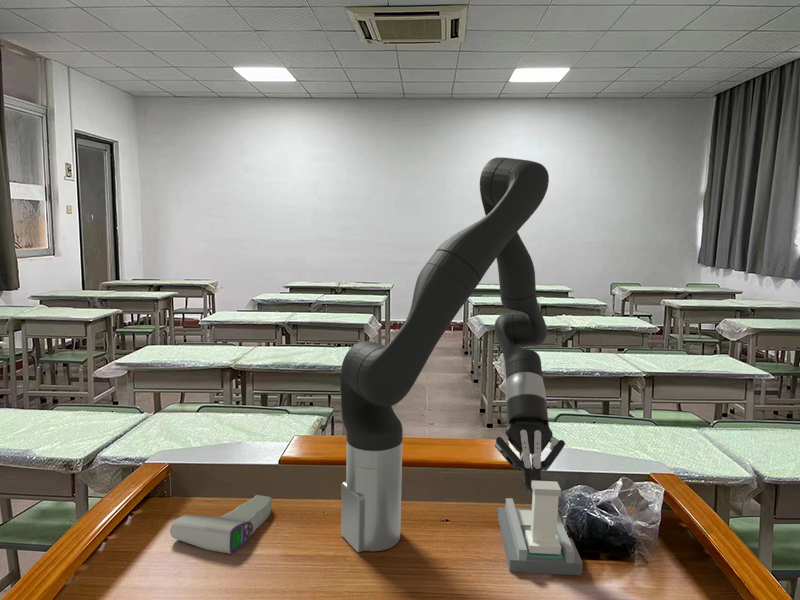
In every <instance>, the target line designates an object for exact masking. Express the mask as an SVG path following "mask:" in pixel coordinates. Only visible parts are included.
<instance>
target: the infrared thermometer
mask: <svg viewBox="0 0 800 600" xmlns="http://www.w3.org/2000/svg"><path fill="white" fill-rule="evenodd" d="M271 513H272V497H271V496H268V495H267V496H266V495H259V494H256V495H255V496H254V497H252V498H251V499H249V500H248V501H246V502H244V503H242V504H240V505H238V506H237V507H236V508H234V509H233V510H231V511H229V512H226V513H225V514H223V515H221V516H208V515H193V514H184V515H181V516H180V517H178V518H177V519H175V521H174V522H173V523H172V524H171V526H170V531H169V533H170V536H171V538H172V539H175V540H177V541H181V542H183V543H186V544H189V545H192V546H195V547H197V548H201V549H204V550H207V551H211V552H212V551H214V552H217V553H224V554H229V555H233V554H234V553H235V552H237V551H238V550H239V549H240V548H242V547H243V546H245V545H246V543H248V542H249V540H250V538H251V536H252V535H253V534H254V533H255V531H256V530H257V529H258V528H259V527H260V526H261V525H262V524H263V523H264V522H265V521H267V519H268V517H269V516H270V514H271Z"/></svg>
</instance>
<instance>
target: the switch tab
mask: <svg viewBox="0 0 800 600" xmlns="http://www.w3.org/2000/svg"><path fill="white" fill-rule="evenodd" d="M531 487H532V490H533V494H532V495H531V496H532V498H531V501H532V502H531V509H532V513H531V530H525V539H526V543H527V546H528V550H529V553H542V554H561V545H560V543H559V540H558V538H557V535H556V530H557V515H558V510H559V499H560V498H559V497H561V496H562V489H561V487H560V484H559V483H558V481H549V480H541V481H532V483H531Z"/></svg>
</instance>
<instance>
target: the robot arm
mask: <svg viewBox="0 0 800 600" xmlns="http://www.w3.org/2000/svg"><path fill="white" fill-rule="evenodd" d="M549 177H550V176H549V171H548V170H547V168H546V166H544V165H543V164H542V163H539V162H536V161H533V160H529V159H528V160H527V159H519V158H512V157H499V156H498V157H494V158H492V159H490V160H489V161H488V162H487V163H485V165H484V167H483V168H482V171H481V173H480V177H479V194H480V200H481V203H482V208H483V211H484V215H485V216H483V217H482V218H481V219H479V220H478V221H476V222H474V223H473V224H471V225H469V226H467V227H465V228H464V229H462V230H460V231H459V232H457V233H455V234H453V235H451V236H450V237H449V238H447V239H446V240H444V241H443V242H442V243H441V245H439V246H438V247H437V249H436V250H435V251H434V252H433V254H432V255H431V257H430V258H429V260H428V261H427V262H426V263H425V265H424V266H423V267H422V269H421V270H420V272H419V274H418V276H417V279H416V282H415V286H414V290H413V295H412V300H411V306H410V310H409V312H408V315H407V317H406V320H405V321H404V322H403V324H402V325H401V327H400V328H399V330H398V331H397V332H396V333H395V335H394V336H393V338H392V339H391V340H390V341H389V343H388V344H386V345H383V344H382V343H378V342H375V341H369V340H366V341H365V340H363V341H360V342H358V343H356V344H354V345H352V346H351V347H350V348H349V350H347V352H346V355H344V357H343V361H342V363H341V369H340V401H341V402H340V403H341V404H340V406H341V417H342V418H341V419H342V423H343V426H344V428H345V431H346V432H345V433H346V456H345V458H346V459H345V461H346V470H345V471H346V474H345V475H346V477H345V478H346V479H345V481H343V482H341V491H340V492H341V493H340V494H341V497H340V499H341V503H340V504H341V508H340V511H341V514H340V515H341V517H340V520H341V523H340V524H341V525H340V529H341V530H340V535H341V536H342V538H344V540H345V541H346V542H347V543H348V544H349V545H350V546H351V547H352V548H353V549H354V550H355V552H356V553H360V552H380V551H385V550H388V549H391V548H392V547H395V545H397V544H398V543H399V541H400V539H401V526H402V523H401V518H402V478H403V475H402V473H403V467H402V466H403V439H404V438H403V434H404V433H403V431H404V430H403V424H402V422H401V421H400V419H399V417H398V416H397V415H396V413H395V411H394V408H393V406H395V405H397V404H399V403H400V402H401V401H402V400H403V399H404V398H405V397H406V396H407V394H409V392H410V391H411V390H412V388H413V386H414V385H415V384H416V381H417V380H418V378H419V376H420V374H421V372H422V370H423V369H424V367H425V365H426V364H427V362H428V359H429V358H430V356H431V354H432V352H433V351H434V349H435V347H436V346H437V344H438V342H439V341H440V340H441V338H442V336H443V335H444V334H445V332H446V330H447V329H448V328H449V326H450V324H451V323H452V322H453V320H454V318H455V317H456V316H457V314H458V313H459V312H460V310H461V308H462V307H463V306H464V305H465V303H466V302H467V301H468V299H469V298H470V297H471V296H472V294H473V293H474V291H475V290H476V288H477V286H478V285H479V284H480V282H481V281H482V280H483V277H484V276H485V275H486V273H487V271H488V270H489V269H490V268H491V266H492V265H493V263H494V262H495V260H496V263H497V270H498V282H499V283H498V284H499V294H500V295H499V296H500V301H501V302H500V303H501V304H502V306H504V308H506V309H508V310H511V311H516V312H512V313H511V312H510V313H503V314H500V315H499V316H498V317H497V319H496V320H495V322H494V334H495V338H496V340H497V341H496V342H497V343H498V345H499V347H500V350H501V352H502V353H501V354H502V356H503V361H504V366H505V367H504V368H505V404H506V406H505V407H506V420H507V427H506V429H505V433H504V435H502V436H498V437H496V439H495V442H494V447H495V448H496V450H497V451H498V452H499V453H500V454H501V456H502V457H503V459H505V460H506V461H507V463H508V464H509V465H510V467H511V468H513V469H514V470H519V471H521V472H522V477H523V478H522V479H523V480H522V481H523V488H524V490H525V491H527V493H528V494H529V495H530V494H531V495H533V490H532V487H531V483H532V481H542V473H541V472H542V471H544V472H545V471H548V469H549V468H550V467H551V466H552V464H553V463H554V462H555V460H556V459H557V457H558V456H559V455H560V454H561V452H562V451H563V449H564V447H565V446H566V443H565V441H564V440H563V439H560V440H559V439H558V438H556V437H555V436H554V435H553V434H554V432H553V431H552V429H551V428H550V425H549V424H550V423H549V413H548V406H547V405H548V404H547V394H546V388H545V384H544V378H543V369H542V368H543V367H542V359H541V357H540V354H539V353H538V352H536V351H535V350H533V349H529V348H523V347H533V346H534V347H536V346H540V345H541V344H543V343H544V342H545V340H546V338H547V336H548V329H547V324H546V321H545V318H544V316H543V313H542V312H541V308H540V306H539V303H538V299H537V291H536V290H537V286H536V271H535V267H534V262H533V260H532V256H531V254H530V253H529V251H528V249H527V246H526V245H525V243H524V241H523V240H522V238H521V236H520V234H519V230H520V229H521V228H522V227H523V226H524V225H525V224H526V222H527V221H528V220H529V219H530V218H531V217H532V216H533V215H534V213H535V212H536V211H537V209H538V208H539V207H540V205H541V204H542V203H543V200H544V198H545V196H546V194H547V191H548V188H549V183H550V178H549ZM517 311H518V312H517ZM549 443H550V446H549V449H550V452H549V454H547V456H546V458H545V459H544V460H542V459H541V458H542V457H541V456H542V453H543V452H544V450H545V448H547V446H548V445H549ZM510 444H511V446H512V447H513V448H514V449H515V451H517V453H518V454H519V456H518V455H517V454H516V453H515V451H514V450H513V449H512V448H511V447H510Z"/></svg>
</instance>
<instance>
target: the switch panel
mask: <svg viewBox="0 0 800 600" xmlns="http://www.w3.org/2000/svg"><path fill="white" fill-rule="evenodd" d="M531 513H532V508H528V507H527V508H524V507H523V508H522V507H521V508H520V507H516V506H515V502H514V499H513V497H511V498H510V497H509V498H507V497H506V498H505V506H504V507H502V506H501V507H500V506H498V507H497V520H498V521H497V522H498V524H499V530H500V534H501V538H502V544H503V548H504V553H505V557H506V562H507V566H508V570H509V571H508V572H509V573H527V574H542V575H543V574H547V575H567V576H583V568H584V567H583V565H584V564H583V561H582V559H581V556H580V554H579V551H578V549H577V548H576V544H575V542H574V540H573V537H572V538H569V537H568V535H567V532H566V530H565V528H564V525H563V523H562V521H561V518H560V516H559V513H558V515H557V530H556V535H557V538H558V540H559V543H560V545H561V554H542V553H529V550H528V546H527V543H526V539H525V530H531Z"/></svg>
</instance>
